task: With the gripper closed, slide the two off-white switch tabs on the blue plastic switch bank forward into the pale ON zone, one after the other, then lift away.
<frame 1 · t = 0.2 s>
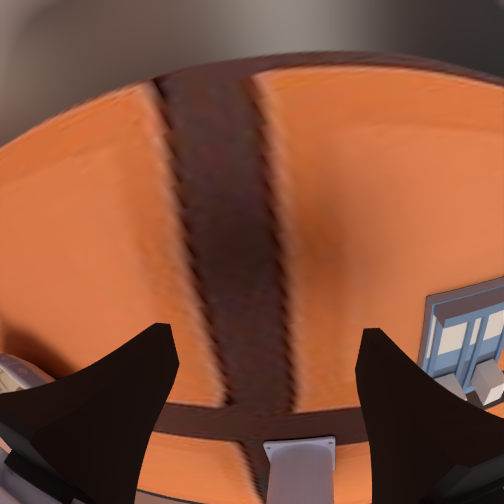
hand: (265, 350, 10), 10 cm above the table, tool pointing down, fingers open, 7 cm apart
switch bank: (463, 345, 21), on the table
ramen bowl: (56, 389, 31), on the table
tab 2: (488, 381, 18), point 3 cm above the table, slide at 0.0 cm
tab 1: (447, 397, 19), point 3 cm above the table, slide at 0.0 cm
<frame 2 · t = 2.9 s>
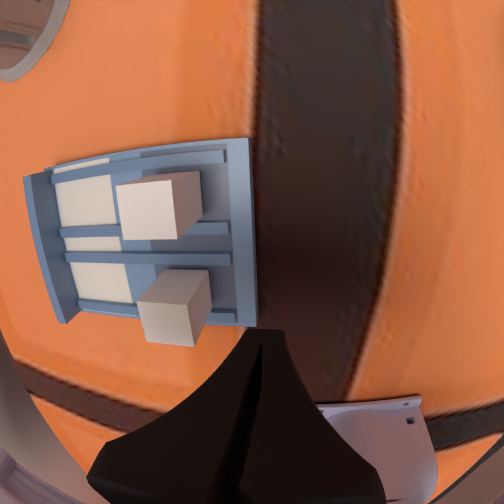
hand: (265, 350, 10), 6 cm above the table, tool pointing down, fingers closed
switch bank: (144, 235, 16), on the table
tab 2: (163, 202, 12), point 3 cm above the table, slide at 0.0 cm
tab 1: (178, 304, 14), point 3 cm above the table, slide at 0.0 cm
french press: (31, 30, 12), on the table
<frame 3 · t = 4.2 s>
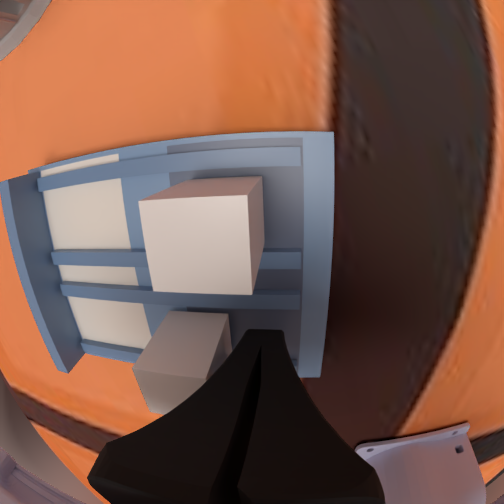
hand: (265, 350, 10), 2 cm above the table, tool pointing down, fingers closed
switch bank: (168, 263, 12), on the table
tab 2: (213, 225, 8), point 3 cm above the table, slide at 0.0 cm
tab 1: (189, 363, 10), point 3 cm above the table, slide at 1.5 cm, touching gripper
french press: (22, 1, 8), on the table
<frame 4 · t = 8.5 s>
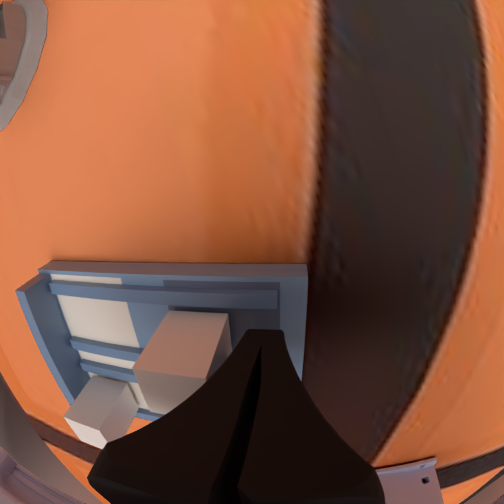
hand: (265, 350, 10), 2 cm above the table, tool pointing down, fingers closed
switch bank: (171, 352, 14), on the table
tab 2: (189, 362, 10), point 3 cm above the table, slide at 0.6 cm, touching gripper
tab 1: (102, 413, 12), point 3 cm above the table, slide at 6.6 cm
french press: (3, 69, 9), on the table
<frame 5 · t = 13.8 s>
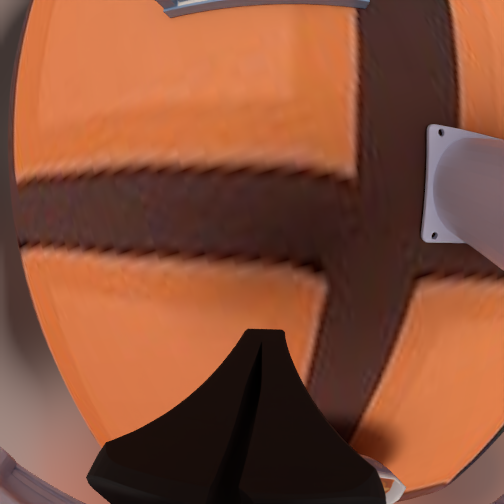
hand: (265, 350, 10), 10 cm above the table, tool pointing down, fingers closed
ramen bowl: (306, 460, 29), on the table
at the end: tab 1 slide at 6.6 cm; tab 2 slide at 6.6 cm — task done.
